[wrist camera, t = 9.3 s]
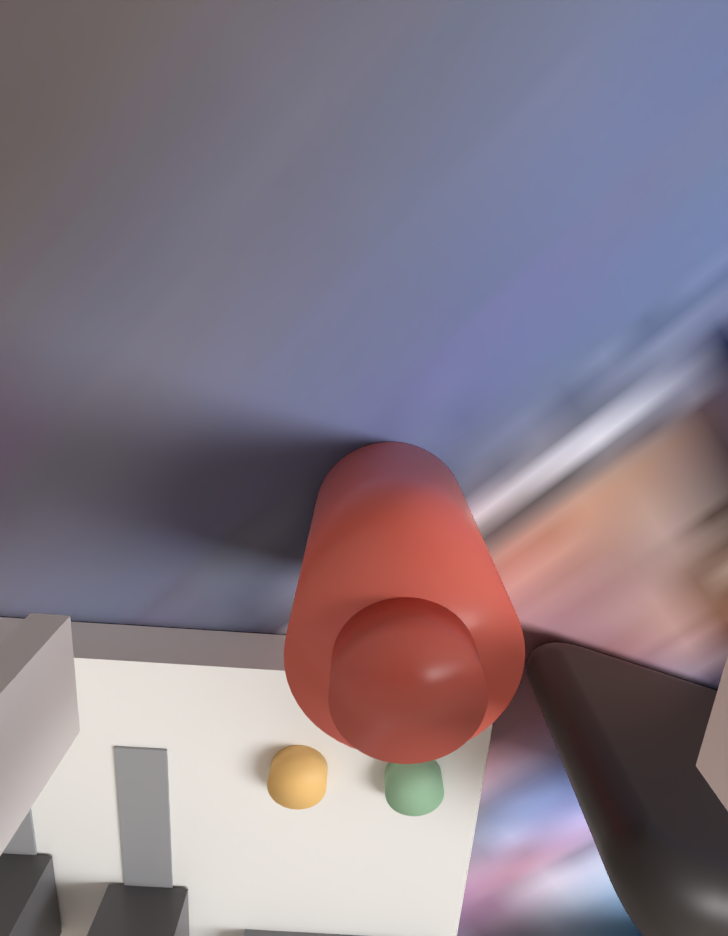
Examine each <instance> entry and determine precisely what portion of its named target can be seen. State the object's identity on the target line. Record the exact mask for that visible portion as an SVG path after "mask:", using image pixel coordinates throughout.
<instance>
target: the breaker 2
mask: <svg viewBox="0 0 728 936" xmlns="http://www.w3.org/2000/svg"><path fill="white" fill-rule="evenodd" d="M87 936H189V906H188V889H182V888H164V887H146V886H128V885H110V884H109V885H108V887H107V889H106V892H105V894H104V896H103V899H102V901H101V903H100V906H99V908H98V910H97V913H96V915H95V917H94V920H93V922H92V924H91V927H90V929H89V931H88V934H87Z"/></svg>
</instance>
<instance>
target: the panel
mask: <svg viewBox="0 0 728 936" xmlns="http://www.w3.org/2000/svg"><path fill="white" fill-rule="evenodd" d="M23 620H24V619H22V618H6V617H0V643H1V642H2V641H3V640H4V639H5V638H6V637H7V636H8V635H9V634H10V633H11V632H12V631H13V630H14V629H15V628H16V627H17V626H18V625H19V624H20V623H21V622H22V621H23ZM71 631H72V643H73V654H74V666H75V678H76V690H77V701H78V713H79V725H80V732H79V734H78V735H77V737H76V738H75V740H74V742H73V743H72V745H71V746H70V748H69V749H68V751H67V753H66V754H65V756H64V757H63V759H62V760H61V762H60V763H59V765H58V767H57V768H56V770H55V771H54V773H53V774H52V776H51V778H50V779H49V781H48V782H47V784H46V785H45V787H44V789H43V790H42V792H41V793H40V795H39V796H38V798H37V799H36V801H35V803H34V804H33V806H32V807H31V809H30V810H29V812H28V814H27V815H26V817H25V818H24V820H23V821H22V823H21V824H20V826H19V828H18V829H17V831H16V832H15V834H14V835H13V837H12V839H11V840H10V842H9V843H8V845H7V846H6V848H5V849H4V851H3V853H6V854H24V855H42V856H52V859H53V867H54V875H55V883H56V890H57V898H58V906H59V914H60V922H61V930H62V932H61V935H60V936H87V934H88V931H89V929H90V927H91V924H92V922H93V920H94V917H95V915H96V913H97V910H98V908H99V906H100V903H101V901H102V899H103V896H104V894H105V892H106V889H107V887H108V885H109V884H110V885H128V886H146V887H164V888H182V889H188V906H189V936H457V932H458V926H459V920H460V914H461V908H462V902H463V897H464V891H465V885H466V879H467V873H468V867H469V861H470V855H471V849H472V843H473V838H474V832H475V826H476V820H477V814H478V808H479V802H480V796H481V790H482V784H483V779H484V773H485V767H486V761H487V755H488V749H489V743H490V737H491V731H492V725H493V723H492V724H491V725H490V726H489V727H488V728H486V729H485V730H484V731H482V732H481V733H480V734H478V735H477V736H475V737H473V738H472V739H470V740H468V741H467V742H466V743H465V744H464V745H462V746H461V747H460V748H458V749H457V750H455V751H454V752H452V753H450V754H448V755H446V756H444V757H441V758H439V759H436V760H432V761H428V762H424V763H416V764H397V763H389V762H385V761H381V760H378V759H375V758H372V757H370V756H368V755H366V754H363V753H362V752H360V751H359V750H357V749H354V748H351V747H349V746H347V745H345V744H343V743H341V742H338V741H337V740H335V739H334V738H332V737H330V736H329V735H327V734H326V733H324V732H323V731H322V730H321V729H319V728H318V727H317V726H316V725H315V724H314V723H313V722H312V721H311V720H310V719H309V718H308V717H307V716H306V715H305V714H304V712H303V711H302V709H301V708H300V707H299V705H298V704H297V702H296V700H295V698H294V696H293V695H292V693H291V690H290V687H289V685H288V682H287V678H286V673H285V668H284V645H285V638H286V635H275V634H259V633H243V632H228V631H212V630H196V629H180V628H164V627H148V626H133V625H117V624H101V623H85V622H71Z"/></svg>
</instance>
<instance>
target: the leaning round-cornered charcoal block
mask: <svg viewBox="0 0 728 936" xmlns="http://www.w3.org/2000/svg"><path fill="white" fill-rule="evenodd" d="M526 671H527V676H528V679H529V681H530V684H531V686H532V689H533V691H534V694H535V696H536V698H537V701H538V703H539V706H540V708H541V711H542V713H543V716H544V718H545V721H546V723H547V726H548V728H549V731H550V733H551V735H552V738H553V740H554V743H555V745H556V748H557V750H558V753H559V755H560V758H561V760H562V763H563V765H564V768H565V770H566V772H567V775H568V777H569V780H570V782H571V785H572V787H573V790H574V792H575V795H576V797H577V800H578V802H579V805H580V807H581V810H582V812H583V814H584V817H585V819H586V822H587V824H588V827H589V829H590V832H591V834H592V837H593V839H594V842H595V844H596V847H597V849H598V851H599V854H600V856H601V859H602V861H603V864H604V866H605V869H606V871H607V874H608V876H609V878H610V881H611V883H612V885H613V887H614V889H615V892H616V894H617V896H618V898H619V899H620V901H621V903H622V905H623V907H624V909H625V910H626V912H627V914H628V915H629V917H630V918H631V920H632V921H633V923H634V924H635V926H636V927H637V928H638V930H639V931H640V932H641V934H642V935H643V936H728V811H727V810H726V808H725V807H724V805H723V804H722V803H721V801H720V800H719V798H718V797H717V795H716V794H715V793H714V791H713V790H712V788H711V787H710V785H709V784H708V783H707V781H706V780H705V778H704V777H703V775H702V774H701V773H700V771H699V770H698V768H697V767H696V763H697V759H698V756H699V752H700V749H701V745H702V742H703V739H704V735H705V732H706V728H707V725H708V721H709V718H710V714H711V711H712V708H713V704H714V701H715V697H716V694H717V691H716V690H713V689H710V688H707V687H704V686H701V685H698V684H695V683H692V682H688V681H685V680H682V679H679V678H676V677H673V676H670V675H667V674H664V673H661V672H658V671H654V670H651V669H648V668H645V667H642V666H639V665H636V664H633V663H630V662H627V661H624V660H621V659H617V658H614V657H611V656H608V655H605V654H602V653H599V652H596V651H593V650H590V649H587V648H583V647H580V646H577V645H573V644H568V643H547V644H543V645H540V646H538V647H537V648H535V649H534V650H533V651H532V652H531V654H530V655H529V657H528V660H527V665H526Z"/></svg>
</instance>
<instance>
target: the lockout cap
mask: <svg viewBox="0 0 728 936" xmlns="http://www.w3.org/2000/svg"><path fill="white" fill-rule="evenodd" d="M524 662H525V641H524V636H523V632H522V627H521V625H520V622H519V619H518V617H517V614H516V612H515V610H514V607H513V605H512V603H511V601H510V598H509V596H508V594H507V592H506V589H505V587H504V585H503V583H502V581H501V578H500V576H499V574H498V572H497V569H496V567H495V565H494V563H493V560H492V558H491V556H490V554H489V551H488V549H487V547H486V545H485V542H484V540H483V538H482V536H481V533H480V531H479V529H478V527H477V524H476V522H475V520H474V518H473V515H472V513H471V511H470V509H469V506H468V504H467V502H466V500H465V497H464V495H463V493H462V491H461V488H460V486H459V484H458V482H457V480H456V478H455V477H454V475H453V473H452V472H451V471H450V469H449V468H448V467H447V466H446V465H445V464H444V463H443V462H442V461H441V460H440V459H439V458H437V457H436V456H435V455H433V454H432V453H430V452H428V451H426V450H425V449H422V448H420V447H417V446H414V445H411V444H407V443H400V442H381V443H374V444H370V445H366V446H364V447H361V448H359V449H356V450H355V451H353V452H351V453H349V454H348V455H346V456H345V457H343V458H342V459H341V460H340V461H339V462H337V463H336V464H335V465H334V466H333V468H332V469H331V470H330V471H329V473H328V474H327V475H326V477H325V479H324V481H323V482H322V485H321V487H320V489H319V492H318V496H317V500H316V505H315V509H314V514H313V518H312V522H311V527H310V531H309V536H308V540H307V545H306V549H305V554H304V558H303V562H302V567H301V571H300V576H299V580H298V585H297V589H296V594H295V598H294V602H293V607H292V611H291V616H290V620H289V625H288V629H287V634H286V638H285V645H284V668H285V673H286V678H287V682H288V685H289V687H290V690H291V693H292V695H293V696H294V698H295V700H296V702H297V704H298V705H299V707H300V708H301V709H302V711H303V712H304V714H305V715H306V716H307V717H308V718H309V719H310V720H311V721H312V722H313V723H314V724H315V725H316V726H317V727H318V728H319V729H321V730H322V731H323V732H324V733H326V734H327V735H329V736H330V737H332V738H334V739H335V740H337V741H338V742H341V743H343V744H345V745H347V746H349V747H351V748H354V749H357V750H359V751H360V752H362V753H363V754H366V755H368V756H370V757H372V758H375V759H378V760H381V761H385V762H389V763H397V764H416V763H424V762H428V761H432V760H436V759H439V758H441V757H444V756H446V755H448V754H450V753H452V752H454V751H455V750H457V749H458V748H460V747H461V746H462V745H464V744H465V743H466V742H467V741H468V740H470V739H472V738H473V737H475V736H477V735H478V734H480V733H481V732H482V731H484V730H485V729H486V728H488V727H489V726H490V725H491V724H492V723H493V722H494V721H495V720H496V719H497V718H498V717H499V716H500V715H501V714H502V713H503V711H504V710H505V709H506V708H507V706H508V705H509V703H510V702H511V700H512V698H513V697H514V695H515V693H516V691H517V688H518V686H519V684H520V681H521V677H522V673H523V670H524Z"/></svg>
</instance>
